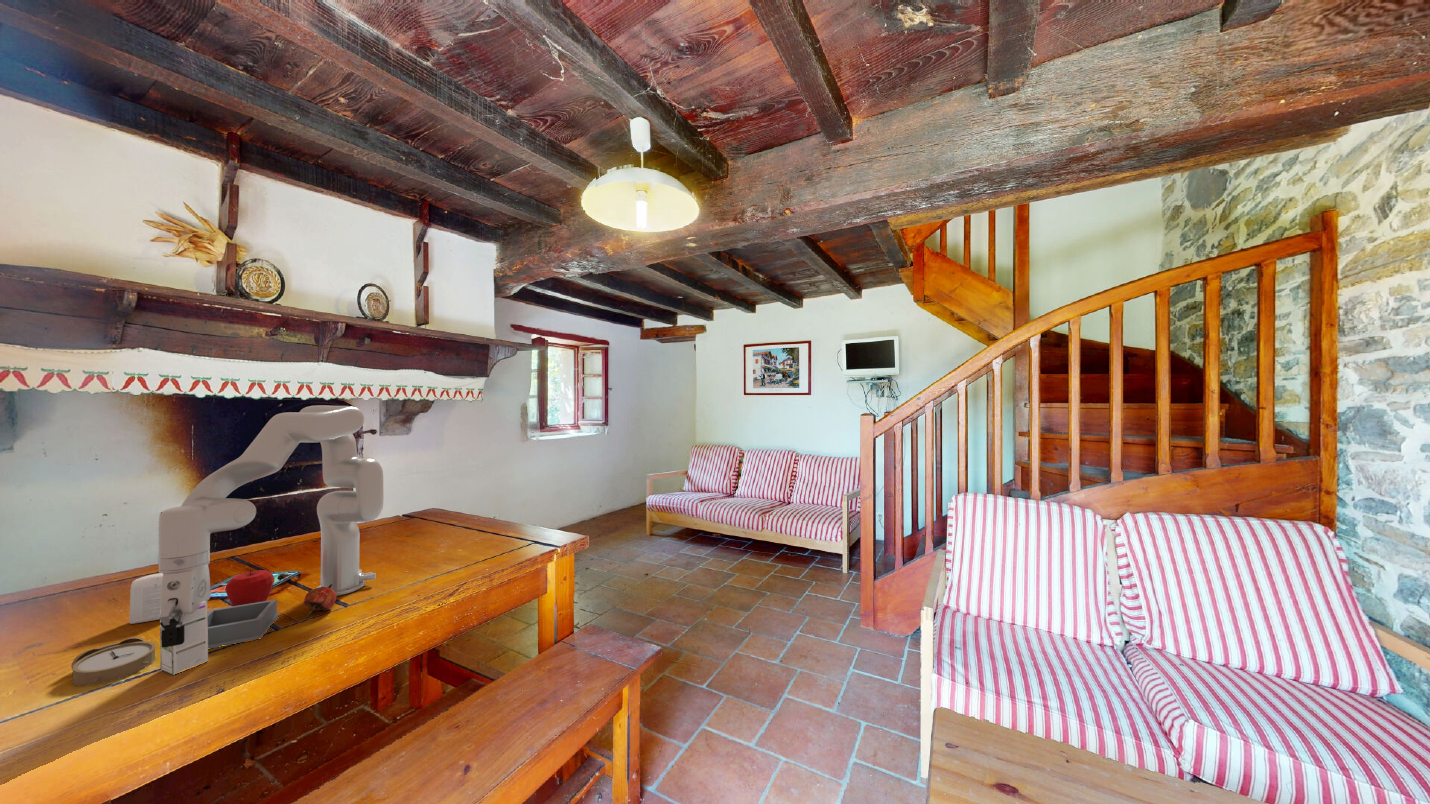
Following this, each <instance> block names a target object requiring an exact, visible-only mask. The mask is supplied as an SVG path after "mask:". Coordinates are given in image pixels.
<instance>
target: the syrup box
mask: <svg viewBox="0 0 1430 804" xmlns="http://www.w3.org/2000/svg"><path fill="white" fill-rule="evenodd" d="M178 612H181V610H178V611H173V613H178ZM207 612H208V601H207V602H205V601H203V602H201V603H200V608H199V609H197V610H196V611H195V612H194V613H192V614H188V613H186V614H185V617H184V620H183V623H182V625H184V643H183V644H181V645H175V646H170V647H164V648H163V647H162V630H161V625H160V623H161V620H160V619H159V627H160V628H159V629H160V630H159V631H160V632H159V633H160V634H159V635H160V638H159V639H160V641H159V643H160V646H159V647H160V671H162V672H165V673H167V674H170V675H172V676H176V675H175V674H176V673H178V672H180V671H182V670H184V669H187V668H190V667H192V666H196V665H198V664H200V663H204V662H207V661H208V662H209V650H208V622H207ZM160 615H161V612H160ZM173 618H174V619H175V620H176V621H178V618H179V617H173ZM173 618H172V619H173ZM208 662H207V663H208Z"/></svg>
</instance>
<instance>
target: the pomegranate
mask: <svg viewBox="0 0 1430 804" xmlns="http://www.w3.org/2000/svg"><path fill="white" fill-rule="evenodd" d="M331 586H332V584H330V586H328V587H319V588H317V587H316V588H312V589H311V590H310V591H308V592H307V593H306V595H305V596H304V599H303V605H304V606H306V607H308V608H309V609H310V610H309V612H308V614H307V615H306V616H309V615H310V614H311V613H312V612H313V611H314V612H315V611H317V612H319V611H323V612H325V611H328V610H330V609H331V608H333V606H334V604H336V601H337V596H336V593H335V592H334V591H333V589H332V588H331Z"/></svg>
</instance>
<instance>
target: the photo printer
mask: <svg viewBox="0 0 1430 804" xmlns="http://www.w3.org/2000/svg"><path fill="white" fill-rule="evenodd" d="M162 579H163V573H159V572H158V573H153V574H149V575H145V576H141V577H140V578H137V579H134V580H132V583H131V586H130V588H129V589H130V591H129V593H130V596H129V624H130V625H131V624H132V625H133V624H139V623H145V622H150V621H151V622H152V621H157V620H160V598H161V586H162Z"/></svg>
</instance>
